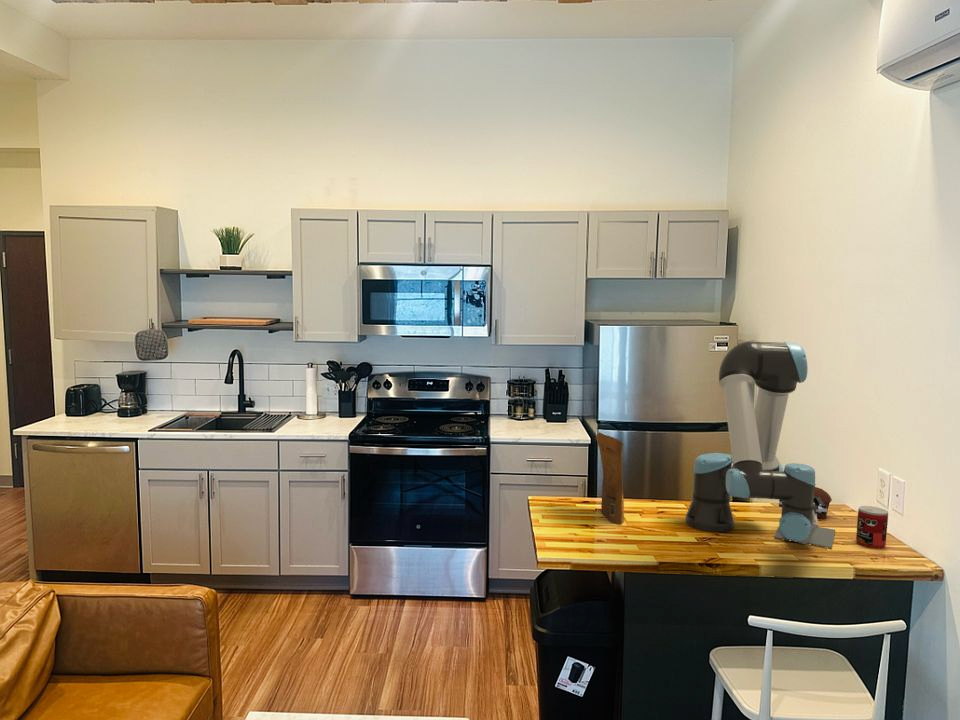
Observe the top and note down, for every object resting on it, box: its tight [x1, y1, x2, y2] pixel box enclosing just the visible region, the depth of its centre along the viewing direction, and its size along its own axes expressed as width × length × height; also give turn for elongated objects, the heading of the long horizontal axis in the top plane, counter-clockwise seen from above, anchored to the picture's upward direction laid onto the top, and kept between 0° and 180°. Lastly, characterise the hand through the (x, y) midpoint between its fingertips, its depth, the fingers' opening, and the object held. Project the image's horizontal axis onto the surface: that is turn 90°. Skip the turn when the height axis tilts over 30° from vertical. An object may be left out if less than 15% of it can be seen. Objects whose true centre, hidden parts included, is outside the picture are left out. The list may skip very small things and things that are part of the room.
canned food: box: [855, 505, 889, 549], centre depth 205 cm, size 8×8×11 cm
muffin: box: [814, 486, 833, 520], centre depth 233 cm, size 12×11×10 cm
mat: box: [773, 526, 836, 549], centre depth 213 cm, size 16×19×1 cm
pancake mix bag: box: [595, 431, 625, 525], centre depth 224 cm, size 7×19×28 cm, turn 8°
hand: (807, 492), depth 208 cm, fingers closed
